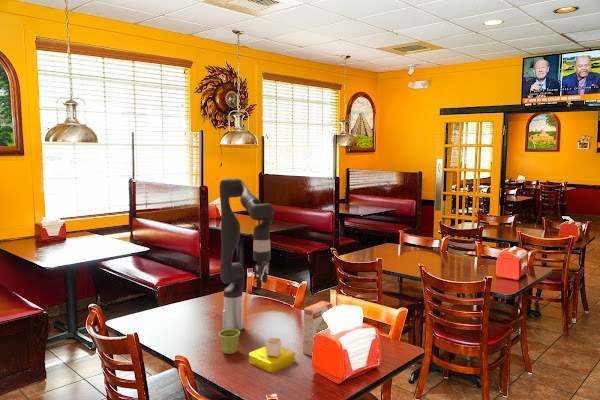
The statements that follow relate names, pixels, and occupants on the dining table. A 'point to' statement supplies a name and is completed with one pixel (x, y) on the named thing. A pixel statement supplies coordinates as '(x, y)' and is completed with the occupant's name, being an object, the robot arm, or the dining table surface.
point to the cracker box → (313, 324)
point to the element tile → (271, 359)
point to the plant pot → (229, 340)
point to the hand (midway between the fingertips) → (262, 285)
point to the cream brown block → (273, 347)
